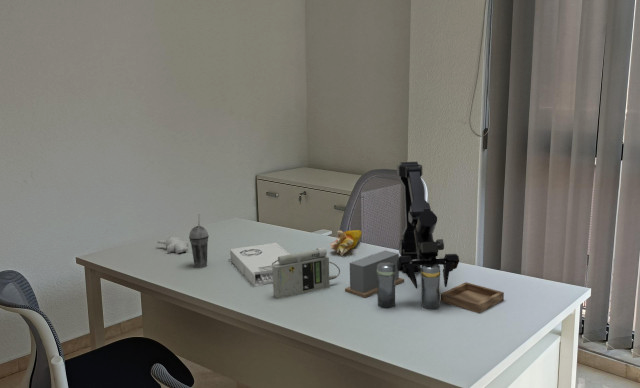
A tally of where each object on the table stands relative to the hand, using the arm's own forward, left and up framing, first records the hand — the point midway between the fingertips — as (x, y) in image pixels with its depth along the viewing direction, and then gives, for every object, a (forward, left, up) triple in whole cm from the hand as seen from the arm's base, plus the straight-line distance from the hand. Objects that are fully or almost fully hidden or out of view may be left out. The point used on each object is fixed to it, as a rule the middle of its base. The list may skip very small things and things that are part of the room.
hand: (431, 287), depth 199 cm
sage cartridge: (+7, -12, -7) cm, 15 cm away
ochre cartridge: (-1, -1, -7) cm, 7 cm away
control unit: (-3, -25, -7) cm, 26 cm away
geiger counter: (+14, -40, -7) cm, 43 cm away
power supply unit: (+10, -68, -7) cm, 69 cm away
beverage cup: (+24, -89, -7) cm, 93 cm away
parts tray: (-13, +6, -7) cm, 16 cm away
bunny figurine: (+20, -116, -7) cm, 117 cm away
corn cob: (-29, -62, -7) cm, 69 cm away
